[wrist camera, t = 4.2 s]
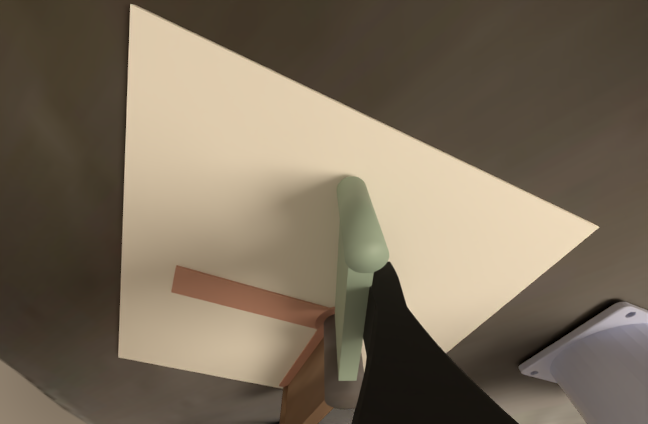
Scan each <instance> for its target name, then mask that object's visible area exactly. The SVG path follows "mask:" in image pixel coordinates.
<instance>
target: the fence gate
mask: <svg viewBox="0 0 648 424" xmlns="http://www.w3.org/2000/svg"><path fill="white" fill-rule="evenodd" d="M337 199H338V207H339V216H340V226H339V244H338V262H337V280H336V298H335V327H336V345H337V363H338V380H339V381H356V380H357V374H358V368H359V362H360V355H361V349H362V343H363V332H364V324H365V317H366V310H367V302H368V295H369V287H370V286H372V281H373V274H374V272H375V271H378V270H379V269H381V268H382V267H384V266H385V264H386V263H387V262H388V259H389V250H388V248H387V245H386V242H385V239H384V236H383V233H382V230H381V227H380V225H379V222H378V219H377V216H376V213H375V210H374V207H373V204H372V202H371V199H370V196H369V193H368V190H367V187H366V185H365V183H364V181H363V180H362V179H360V178H358V177H355V176H350V177H346V178H344V179H343V180H341V181H340V182H339V184H338V186H337Z"/></svg>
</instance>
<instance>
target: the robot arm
mask: <svg viewBox="0 0 648 424" xmlns="http://www.w3.org/2000/svg"><path fill="white" fill-rule="evenodd" d="M363 340H364V345H365V350H366V355H367V358H366V366H365V371H364V376H363V380H362V385H361V389H360V393H359V397H358V401H357V405H356V409H355V413H354V416H353V420H352V424H519V423H517V422H516V421H515V420H514V419H513V418H512V417H511V416H510V415H508V414H507V413H506V412H505V411H504V410H503V409H502V408H501V407H500V406H499V405H497V404H496V403H495V402H494V401H493V400H492V399H491V398H490V397H489V396H488V395H487V394H486V393H485V392H484V391H483V390H482V389H481V388H480V387H479V386H477V385H476V384H475V383H474V382H473V381H472V380H471V379H470V378H469V377H468V376H467V375H466V374H465V373H464V372H463V371H462V370H461V369H460V368H459V367H458V366H457V365H456V364H455V363H454V362H453V361H452V359H451V358H450V357H449V356H448V355H447V354H446V353H445V352H444V351H443V350H442V349H441V347H440V346H439V345H438V344H437V343H436V342H435V341H434V340H433V338H432V337H431V336H430V335H429V334H428V333H427V331H426V330H425V329H424V328H423V326H422V325H421V324H420V323H419V321H418V320H417V319H416V318H415V316H414V315H413V314H412V312H411V311H410V310H409V308H408V307H407V305H406V301H405V298H404V295H403V291H402V288H401V284H400V281H399V278H398V275H397V273H396V271H395V269H394V267H393V266H392V264H391V262H387V263H386V264H385V266H384V267H382V268H381V269H379V270H378V271H375V272H374V274H373V281H372V286H370V287H369V295H368V302H367V310H366V317H365V324H364V332H363ZM518 368H519V370H520V372H521V373H522V374H524V375H527V376H531V377H535V378H539V379H543V380H547V381H550V382H554V383H558V384H559V386H560V387H561V388H562V390H563V391H564V393H565V394H566V395H567V397H568V398H569V399H570V401H571V402H572V404H573V405H574V406H575V408H576V409H577V411H578V412H579V413H580V415H581V416H582V417H583V419H584V420H585V422H586V423H587V424H648V310H646V309H643V308H640V307H638V306H635V305H633V304H630V303H628V302H618V303H615V304H614V305H612V306H610V307H609V308H607V309H606V310H604V311H603V312H601V313H599V314H598V315H596V316H595V317H593V318H592V319H590V320H589V321H587V322H586V323H584V324H582V325H581V326H579V327H578V328H576V329H575V330H573V331H572V332H570V333H569V334H567V335H565V336H564V337H562V338H561V339H559V340H558V341H556V342H555V343H553V344H551V345H550V346H548V347H547V348H545V349H544V350H542V351H541V352H539V353H538V354H536V355H534V356H533V357H531V358H530V359H528V360H527V361H525V362H524V363H522V364H521V365H519V367H518Z"/></svg>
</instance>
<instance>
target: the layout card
mask: <svg viewBox="0 0 648 424" xmlns="http://www.w3.org/2000/svg"><path fill="white" fill-rule="evenodd" d="M350 176H355V177H358V178H360V179H362V180H363V181H364V183H365V185H366V187H367V190H368V193H369V196H370V199H371V202H372V204H373V207H374V210H375V213H376V216H377V219H378V222H379V225H380V227H381V230H382V233H383V236H384V239H385V242H386V245H387V248H388V250H389V259H388V262H391V264H392V266H393V267H394V269H395V271H396V273H397V275H398V278H399V281H400V284H401V288H402V291H403V295H404V298H405V301H406V305H407V307H408V308H409V310H410V311H411V312H412V314H413V315H414V316H415V318H416V319H417V320H418V321H419V323H420V324H421V325H422V326H423V328H424V329H425V330H426V331H427V333H428V334H429V335H430V336H431V337H432V338H433V340H434V341H435V342H436V343H437V344H438V345H439V346H440V347H441V349H442V350H443V351H444V352H445V353H447V352H448V351H449V350H451V349H452V348H453V347H454V346H455V345H457V344H458V343H459V342H460V341H461V340H463V339H464V338H465V337H466V336H468V335H469V334H470V333H471V332H472V331H474V330H475V329H476V328H477V327H478V326H480V325H481V324H482V323H483V322H485V321H486V320H487V319H488V318H489V317H491V316H492V315H493V314H494V313H496V312H497V311H498V310H499V309H500V308H502V307H503V306H504V305H505V304H506V303H508V302H509V301H510V300H511V299H513V298H514V297H515V296H516V295H517V294H519V293H520V292H521V291H522V290H524V289H525V288H526V287H527V286H528V285H530V284H531V283H532V282H533V281H534V280H536V279H537V278H538V277H539V276H541V275H542V274H543V273H544V272H545V271H547V270H548V269H549V268H550V267H551V266H553V265H554V264H555V263H556V262H558V261H559V260H560V259H561V258H562V257H564V256H565V255H566V254H567V253H569V252H570V251H571V250H572V249H573V248H575V247H576V246H577V245H578V244H579V243H581V242H582V241H583V240H584V239H586V238H587V237H588V236H589V235H590V234H592V233H593V232H594V231H595V230H597V229H598V228H599V227H598V226H597V225H595V224H593V223H591V222H589V221H587V220H585V219H583V218H581V217H579V216H577V215H575V214H572V213H570V212H568V211H566V210H564V209H562V208H560V207H558V206H556V205H554V204H551V203H549V202H547V201H545V200H543V199H541V198H539V197H537V196H535V195H533V194H531V193H528V192H526V191H524V190H522V189H520V188H518V187H516V186H514V185H512V184H510V183H508V182H505V181H503V180H501V179H499V178H497V177H495V176H493V175H491V174H489V173H487V172H484V171H482V170H480V169H478V168H476V167H474V166H472V165H470V164H468V163H466V162H464V161H461V160H459V159H457V158H455V157H453V156H451V155H449V154H447V153H445V152H443V151H440V150H438V149H436V148H434V147H432V146H430V145H428V144H426V143H424V142H422V141H420V140H417V139H415V138H413V137H411V136H409V135H407V134H405V133H403V132H401V131H399V130H397V129H394V128H392V127H390V126H388V125H386V124H384V123H382V122H380V121H378V120H376V119H373V118H371V117H369V116H367V115H365V114H363V113H361V112H359V111H357V110H355V109H353V108H350V107H348V106H346V105H344V104H342V103H340V102H338V101H336V100H334V99H332V98H329V97H327V96H325V95H323V94H321V93H319V92H317V91H315V90H313V89H311V88H309V87H306V86H304V85H302V84H300V83H298V82H296V81H294V80H292V79H290V78H288V77H286V76H283V75H281V74H279V73H277V72H275V71H273V70H271V69H269V68H267V67H265V66H262V65H260V64H258V63H256V62H254V61H252V60H250V59H248V58H246V57H244V56H242V55H239V54H237V53H235V52H233V51H231V50H229V49H227V48H225V47H223V46H221V45H218V44H216V43H214V42H212V41H210V40H208V39H206V38H204V37H202V36H200V35H198V34H195V33H193V32H191V31H189V30H187V29H185V28H183V27H181V26H179V25H177V24H175V23H172V22H170V21H168V20H166V19H164V18H162V17H160V16H158V15H156V14H154V13H151V12H149V11H147V10H145V9H143V8H141V7H139V6H137V5H133V4H130V28H129V57H128V87H127V116H126V145H125V174H124V203H123V233H122V262H121V291H120V320H119V349H118V357H119V358H125V359H130V360H135V361H140V362H145V363H151V364H156V365H161V366H166V367H172V368H177V369H182V370H187V371H192V372H198V373H203V374H208V375H213V376H219V377H224V378H229V379H234V380H239V381H245V382H250V383H255V384H260V385H266V386H271V387H276V388H281V389H283V387H285V386H288V385H289V384H290V382H291V381H292V380H293V378H294V377H295V376H296V374H297V373H298V371H299V370H300V369H301V367H302V366H303V365H304V363H305V362H306V361H307V359H308V358H309V356H310V355H311V354H312V352H313V351H314V350H315V348H316V347H317V345H318V344H319V343H320V341H321V340H322V339H323V337H324V321H325V320H326V318H328V317H329V316H331V315H333V314H335V298H336V280H337V262H338V244H339V226H340V216H339V207H338V199H337V186H338V184H339V182H340V181H341V180H343V179H344V178H346V177H350ZM361 353H362V361H363V368H364V371H365V366H366V358H367V355H366V350H365V345H364V340H363V343H362V349H361Z"/></svg>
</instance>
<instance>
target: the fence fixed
mask: <svg viewBox="0 0 648 424" xmlns="http://www.w3.org/2000/svg"><path fill="white" fill-rule="evenodd" d="M363 376H364V368H363V361H362V353H361V355H360V362H359V368H358V374H357V380H356V381H339V380H338V363H337V345H336V327H335V314H333V315H331V316H329V317H328V318H326V320H325V321H324V337H323V339H322V340H321V341H320V343H319V344H318V345H317V347H316V348H315V350H314V351H313V352H312V354H311V355H310V356H309V358H308V359H307V361H306V362H305V363H304V365H303V366H302V367H301V369H300V370H299V371H298V373H297V374H296V376H295V377H294V378H293V380H292V381H291V382H290V384H289V385H288V386H285V387H283V396H282V405H281V414H280V423H279V424H318V423H319V422H320V421H321V420H322V419H323V418H324V417H325V416H326V415H327V414H328V413H329V412H330V411H331V410H332V409H333V408H338V409H351V408H356V405H357V401H358V397H359V393H360V389H361V385H362V380H363Z"/></svg>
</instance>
